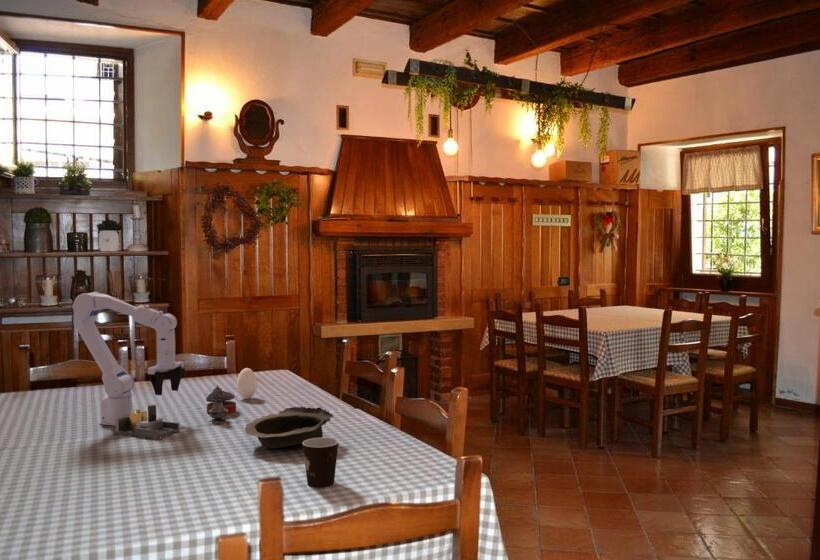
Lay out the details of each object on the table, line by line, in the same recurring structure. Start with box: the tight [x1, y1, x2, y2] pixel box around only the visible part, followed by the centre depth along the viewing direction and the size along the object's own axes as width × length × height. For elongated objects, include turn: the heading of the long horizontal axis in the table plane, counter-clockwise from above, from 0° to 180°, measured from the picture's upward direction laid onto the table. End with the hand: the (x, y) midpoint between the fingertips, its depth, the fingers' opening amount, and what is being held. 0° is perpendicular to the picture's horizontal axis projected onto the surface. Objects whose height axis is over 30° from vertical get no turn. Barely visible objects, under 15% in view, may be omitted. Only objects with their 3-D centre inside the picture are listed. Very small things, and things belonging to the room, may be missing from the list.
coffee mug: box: [301, 437, 339, 489], centre depth 168 cm, size 12×9×10 cm
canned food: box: [205, 390, 237, 416], centre depth 244 cm, size 11×10×10 cm
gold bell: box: [130, 408, 148, 430], centre depth 219 cm, size 5×5×6 cm
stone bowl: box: [244, 406, 334, 450], centre depth 203 cm, size 25×25×9 cm
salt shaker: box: [209, 384, 227, 424], centre depth 231 cm, size 6×6×12 cm
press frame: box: [113, 415, 181, 440], centre depth 217 cm, size 16×10×4 cm, turn 68°
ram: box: [136, 404, 164, 429], centre depth 217 cm, size 4×7×7 cm, turn 158°
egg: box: [236, 367, 258, 400], centre depth 266 cm, size 7×7×12 cm
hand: (166, 392), depth 229 cm, fingers open, 7 cm apart
